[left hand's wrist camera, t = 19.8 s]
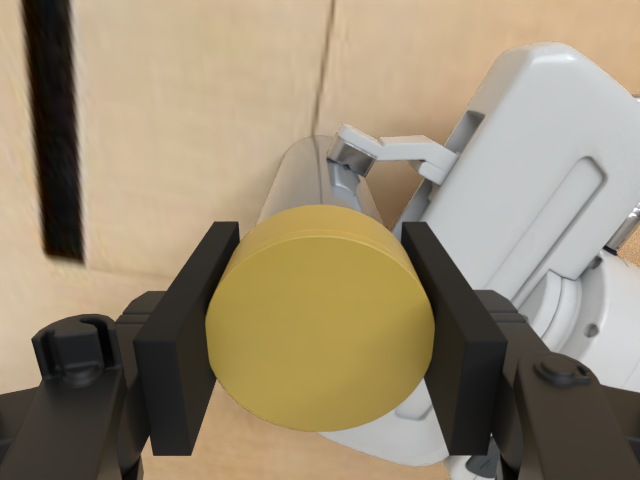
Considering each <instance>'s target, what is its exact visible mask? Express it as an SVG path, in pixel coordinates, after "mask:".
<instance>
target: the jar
mask: <svg viewBox="0 0 640 480" xmlns="http://www.w3.org/2000/svg"><path fill="white" fill-rule="evenodd" d="M333 139H334V138H332V137H328V136H311V137H308V138H305V139H302V140H300V141H299V142H297V143H296V144H294V145H293V146H292V147H291V148H290V149H289V150H288V151H287V153H286V154H285V156H284V158H283V160H282V162H281V165H280V167H279V169H278V172H277V174H276V177H275V179H274V182H273V184H272V186H271V189H270V191H269V194H268V196H267V198H266V201H265V203H264V206H263V208H262V211H261V213H260V215H259V218H258V220H257V223H256V225H255V227H256V226H257V225H258V224H260V223H261V222H263V221H264V220H266V219H267V218H269V217H271V216H273V215H275V214H277V213H279V212H282V211H285V210H288V209H291V208H295V207H300V206H306V205H334V206H339V207H345V208H349V209H352V210H355V211H358V212H360V213H363V214H365V215H367V216H369V217H371V218H373V219H374V220H376V221H377V222H379V223H380V224H382V225H383V226H384V223H383V221H382V218H381V216H380V214H379V211H378V209H377V206H376V204H375V201H374V199H373V197H372V194H371V192H370V189H369V187H368V184H367V182H366V180H365V177H363V176H361V175H359V174H357V173H355V172H353V171H352V170H351V169H350V167H349V165H340V164H338V163H336V162H334V161H332V160H331V159H329V158H328V157H327V151H328V149H329V147H330V145H331V143H332V141H333ZM384 227H385V226H384Z"/></svg>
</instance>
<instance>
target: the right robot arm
mask: <svg viewBox="0 0 640 480" xmlns="http://www.w3.org/2000/svg"><path fill="white" fill-rule="evenodd" d="M327 157H328V158H329V159H331V160H332V161H334V162H336V163H338V164H340V165H349V167H350V169H351V170H352V171H353V172H355V173H357V174H359V175H361V176H363V177H366V175H367V173H368V172H369V170H370V168H371V166H372V165H373V163H374V161H375V160H376V161H398V160H409V164H410V165H411V166H412V167H413V168H414V169H415V170H416V171H417V172H418V174H420V175H422V176H423V177H424V178H423V180H422V181H421V183H420V185H419V186H418V188H417V189H416V191H415V193H414V194H413V196H412V198H411V199H410V201H409V202H408V204H407V206H406V207H405V209H404V211H403V212H402V214H401V216H400V217H399V219H398V220H397V222H396V224H395V225H394V227H393V229H392V230H391V233H392V234H393V235H394V236H395V237H396V239H397V240H398V241H399V242H400V243H401V231H402V222H427V224H428V225H429V227H430V228H431V230H432V231H433V233H434V234H435V235H436V237H437V238H438V240H439V241H440V243H441V244H442V246H443V247H444V248H445V250H446V251H447V253H448V254H449V256H450V257H451V259H452V260H453V262H454V263H455V264H456V266H457V267H458V269H459V270H460V272H461V273H462V275H463V276H464V277H465V279H466V280H467V282H468V283H469V285H470V286H471V288H472V289H473V290H494V291H496V292H497V293H499V294H501V295H502V296H504V297H505V298H507V299H509V300H510V302H511V303H512V304H513V305H514V307H515V308H516V309H517V310H518V313H520V314H521V315H522V316H523V318H524V319H525V320H526V323H528V324H529V325H530V326H531V327H532V329H533V330H534V331H535V332H536V334H537V335H538V336H539V337H540V338H541V340H542V341H543V342H544V343H545V345H546V346H547V347H548V348H549V349H550V351H552V352H556V353H560V354H564V355H566V356H569V357H571V358H573V359H576V360H578V361H580V362H581V363H582V364H584V365H585V366H587V367H588V368H590V369H591V371H592V372H593V373H594V374H595V376H596V377H597V378H598V380H599V382H600V384H602V385H606V386H610V387H614V388H619V389H624V390H629V391H634V392H639V393H640V267H638V266H637V265H635V264H633V263H631V262H629V261H627V260H625V259H624V258H622V257H620V256H618V254H617V252H618V251H619V249H620V248H621V247H622V246H623V245H624V243H625V242H626V241H627V240H628V238H629V237H630V236H631V235H632V234H633V232H634V231H635V230H636V229H637V228H638V226H639V225H640V95H639V94H632V95H631V94H630V93H629V92H628V91H627V90H626V89H625V88H624V87H622V86H621V85H620V84H619V83H618V82H617V81H616V80H615V79H613V78H612V77H611V76H610V75H609V74H607V73H606V72H605V71H604V70H603V69H601V68H600V67H599V66H598V65H596V64H595V63H594V62H592V61H591V60H590V59H588V58H587V57H586V56H584V55H583V54H582V53H580V52H579V51H577V50H576V49H574V48H572V47H571V46H569V45H567V44H564V43H560V42H551V41H545V42H536V43H531V44H526V45H522V46H519V47H516V48H512V49H509V50H506V51H504V52H503V53H501V54H500V55H499V56H498V57H497V59H496V60H495V62H494V64H493V65H492V67H491V69H490V70H489V72H488V73H487V75H486V77H485V78H484V80H483V82H482V83H481V85H480V87H479V88H478V90H477V91H476V93H475V95H474V96H473V98H472V100H471V101H470V103H469V104H468V106H467V108H466V109H465V111H464V113H463V114H462V116H461V118H460V119H459V121H458V122H457V124H456V126H455V127H454V129H453V131H452V132H451V134H450V136H449V137H448V139H447V140H446V142H445V144H444V145H443V146H442V145H440V144H439V143H437V142H435V141H433V140H431V139H429V138H427V137H426V136H424V135H413V136H395V137H379V139H378V140H377V139H375V138H373V137H371V136H370V135H368V134H366V133H364V132H362V131H360V130H358V129H356V128H355V127H353V126H351V125H349V124H346V123H344V122H342V123H341V125H340V127H339V129H338V131H337V133H336V135H335V137H334V139H333V141H332V143H331V145H330V147H329V149H328V151H327ZM316 433H318V434H319V435H321V436H323V437H325V438H327V439H329V440H331V441H334V442H336V443H338V444H341V445H343V446H346V447H348V448H351V449H354V450H356V451H359V452H362V453H365V454H368V455H371V456H373V457H376V458H380V459H383V460H386V461H389V462H393V463H396V464H400V465H406V466H415V467H421V466H429V465H433V464H436V463H438V462H440V461H442V462H443V464H444V466H445V468H446V471H447V473H448V475H449V477H450V479H451V480H494V479H495V474H496V469H497V464H498V459H499V454H500V451H499V449H498V446H497V444H496V442H495V440H494V438H493V436H492V434H491V437H490V443H489V448H488V454H487V456H449V453H448V450H447V447H446V444H445V441H444V438H443V435H442V432H441V429H440V426H439V423H438V420H437V417H436V414H435V411H434V408H433V405H432V402H431V399H430V396H429V393H428V390H427V387H426V384H425V381H424V378H423V379H422V381H421V382H420V383H419V385H418V386H417V388H416V389H415V390H414V391H413V392H412V394H411V395H410V396H409V397H408V398H407V399H406V400H405V401H404V402H402V403H401V404H400V405H399V406H398V407H396V408H395V409H394V410H392V411H391V412H389V413H387V414H386V415H384V416H382V417H380V418H378V419H376V420H374V421H372V422H370V423H367V424H364V425H362V426H358V427H355V428H351V429H347V430H340V431H333V432H316Z"/></svg>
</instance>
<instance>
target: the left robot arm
mask: <svg viewBox="0 0 640 480" xmlns="http://www.w3.org/2000/svg"><path fill="white" fill-rule="evenodd" d="M239 243H240V238H239V224H238V222H214V223H213V225H212V226H211V227H210V229H209V230H208V232H207V233H206V235H205V236H204V238H203V239H202V240H201V242H200V243H199V245H198V246H197V248H196V249H195V251H194V252H193V254H192V255H191V256H190V258H189V259H188V261H187V262H186V264H185V265H184V267H183V268H182V269H181V271H180V272H179V274H178V275H177V277H176V278H175V280H174V281H173V283H172V284H171V285H170V287H169V288H168V290H167V291H147V292H146V293H144V294H143V295H141V296H139V297H138V298H136V299H134V300H133V301H132V302H131V303H130V304H129V305H128V307H127V308H126V309H125V310H124V312H123V315H120V316H119V318H118V319H117V320H116V321H115V322H114V320H112V319H111V318H110V317H108V316H105V315H100V314H82V315H77V316H72V317H67V318H65V319H62V320H59V321H57V322H54V323H51V324H50V325H48V326H46V327H45V328H43V329H41V330H40V331H39V332H38V333H37V334H36V335H35V336H34V337H33V338H32V339H31V340H32V344H33V347H34V351H35V354H36V358H37V361H38V365H39V369H40V372H41V376H42V381H41V383H40V385H39V386H38V387H35V388H31V389H26V390H21V391H16V392H11V393H6V394H1V395H0V480H143V474H144V471H143V464H142V459H141V452H142V450H143V448H144V445H145V443H146V441H147V439H148V437H149V435H150V440H151V446H152V451H153V456H191V454H192V451H193V448H194V445H195V442H196V439H197V436H198V433H199V430H200V427H201V424H202V421H203V418H204V415H205V412H206V409H207V406H208V403H209V400H210V397H211V394H212V391H213V388H214V385H215V382H216V379H217V378H216V376H215V374H214V372H213V370H212V368H211V366H210V363H209V355H208V346H207V337H206V327H205V318H206V313H207V310H208V306H209V303H210V301H211V299H212V297H213V294H214V292H215V290H216V288H217V286H218V284H219V282H220V280H221V277H222V275H223V273H224V271H225V269H226V267H227V265H228V263H229V261H230V258H231V256H232V254H233V252H234V251H235V249H236V248H237V246H238V244H239ZM401 245H402V246H403V248H404V250H405V251H406V253H407V255H408V257H409V259H410V261H411V263H412V265H413V267H414V270H415V272H416V274H417V276H418V278H419V280H420V282H421V284H422V287H423V289H424V291H425V293H426V295H427V297H428V300H429V302H430V304H431V308H432V311H433V315H434V321H435V332H434V342H433V351H432V358H431V362H430V364H429V367H428V370H427V371H426V373H425V375H424V377H423V378H424V381H425V384H426V387H427V390H428V393H429V396H430V399H431V402H432V405H433V408H434V411H435V414H436V417H437V420H438V423H439V426H440V429H441V432H442V435H443V438H444V441H445V444H446V447H447V450H448V453H449V456H487V454H488V448H489V443H490V437H491V434H492V436H493V438H494V440H495V442H496V444H497V446H498V449H499V451H500V454H499V459H498V464H497V469H496V474H495V479H494V480H640V393H639V392H634V391H629V390H624V389H619V388H614V387H610V386H606V385H602V384H600V382H599V380H598V378H597V377H596V376H595V374H594V373H593V372H592V371H591V369H590V368H588V367H587V366H585V365H584V364H582V363H581V362H580V361H578V360H576V359H573V358H571V357H569V356H566V355H564V354H560V353H556V352H552V351H550V349H549V348H548V347H547V346H546V345H545V343H544V342H543V341H542V340H541V338H540V337H539V336H538V335H537V334H536V332H535V331H534V330H533V329H532V327H531V326H530V325H529V324H528V323H526V320H525V319H524V318H523V316H522V315H521V314H520V313H518V310H517V309H516V308H515V307H514V305H513V304H512V303H511V302H510V300H509V299H507V298H505V297H504V296H502V295H501V294H499V293H497V292H496V291H494V290H473V289H472V288H471V286H470V285H469V283H468V282H467V280H466V279H465V277H464V276H463V275H462V273H461V272H460V270H459V269H458V267H457V266H456V264H455V263H454V262H453V260H452V259H451V257H450V256H449V254H448V253H447V251H446V250H445V248H444V247H443V246H442V244H441V243H440V241H439V240H438V238H437V237H436V235H435V234H434V233H433V231H432V230H431V228H430V227H429V225H428V224H427V222H402V231H401Z"/></svg>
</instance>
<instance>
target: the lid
mask: <svg viewBox="0 0 640 480" xmlns="http://www.w3.org/2000/svg"><path fill="white" fill-rule="evenodd" d="M205 327H206V337H207V346H208V355H209V363H210V366H211V368H212V370H213V372H214V374H215V376H216V378H217V380H218V381H219V382H220V384H221V385H222V387H223V388H224V389H225V391H226V392H227V393H228V394H229V395H230V396H231V397H232V398H233V399H234V400H235V401H236V402H237V403H239V404H240V405H241V406H242V407H243V408H245V409H246V410H248V411H249V412H251V413H252V414H254V415H256V416H257V417H259V418H261V419H263V420H265V421H268V422H270V423H273V424H275V425H278V426H281V427H285V428H289V429H293V430H300V431H307V432H333V431H340V430H347V429H351V428H355V427H358V426H362V425H364V424H367V423H370V422H372V421H374V420H376V419H378V418H380V417H382V416H384V415H386V414H387V413H389V412H391V411H392V410H394V409H395V408H396V407H398V406H399V405H400V404H401V403H402V402H404V401H405V400H406V399H407V398H408V397H409V396H410V395H411V394H412V392H413V391H414V390H415V389H416V388H417V386H418V385H419V383H420V382H421V381H422V379H423V377H424V375H425V373H426V371H427V370H428V367H429V364H430V362H431V358H432V351H433V342H434V332H435V321H434V315H433V311H432V308H431V304H430V302H429V300H428V297H427V295H426V293H425V291H424V289H423V287H422V284H421V282H420V280H419V278H418V276H417V274H416V272H415V270H414V267H413V265H412V263H411V261H410V259H409V257H408V255H407V253H406V251H405V250H404V248H403V246H402V245H401V243H400V242H399V241H398V240H397V239H396V237H395V236H394V235H393V234H392V233H391V232H390V231H389V230H388V229H386V228H385V227H384V226H383V225H382V224H380V223H379V222H377V221H376V220H374V219H373V218H371V217H369V216H367V215H365V214H363V213H360V212H358V211H355V210H352V209H349V208H345V207H339V206H334V205H306V206H300V207H295V208H291V209H288V210H285V211H282V212H279V213H277V214H275V215H273V216H271V217H269V218H267V219H266V220H264V221H263V222H261V223H260V224H258V225H257V226H256V227H254V228H253V229H252V230H251V231H250V232H249V233H248V234H247V235H246V236H245V237H244V238H243V239H242V240H241V242H240V243H239V244H238V246H237V248H236V249H235V251H234V252H233V254H232V256H231V258H230V261H229V263H228V265H227V267H226V269H225V271H224V273H223V275H222V277H221V280H220V282H219V284H218V286H217V288H216V290H215V292H214V294H213V297H212V299H211V301H210V303H209V306H208V310H207V313H206V318H205Z"/></svg>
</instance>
